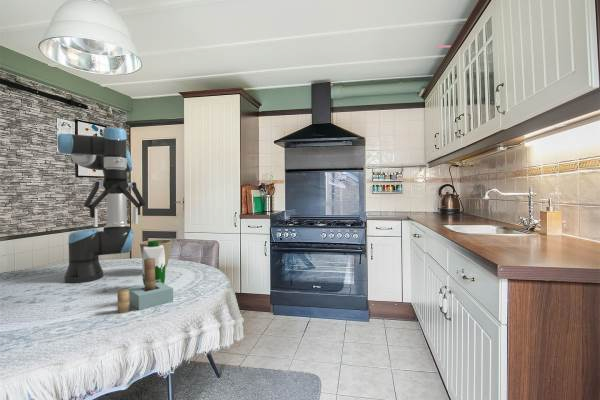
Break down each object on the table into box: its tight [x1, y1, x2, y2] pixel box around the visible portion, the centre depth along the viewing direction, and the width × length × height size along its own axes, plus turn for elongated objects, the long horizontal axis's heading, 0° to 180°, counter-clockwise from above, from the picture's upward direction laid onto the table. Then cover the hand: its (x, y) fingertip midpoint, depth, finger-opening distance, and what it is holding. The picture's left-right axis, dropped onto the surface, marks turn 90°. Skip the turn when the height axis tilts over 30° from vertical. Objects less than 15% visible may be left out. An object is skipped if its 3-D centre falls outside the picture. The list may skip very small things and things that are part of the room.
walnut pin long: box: [144, 258, 155, 292], centre depth 115 cm, size 4×4×16 cm
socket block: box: [127, 282, 174, 311], centre depth 116 cm, size 12×12×5 cm
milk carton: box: [141, 240, 166, 285], centre depth 131 cm, size 9×9×20 cm
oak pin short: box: [116, 288, 131, 314], centre depth 106 cm, size 4×4×7 cm
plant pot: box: [139, 239, 172, 271], centre depth 157 cm, size 15×15×16 cm
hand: (116, 225), depth 117 cm, fingers open, 13 cm apart
